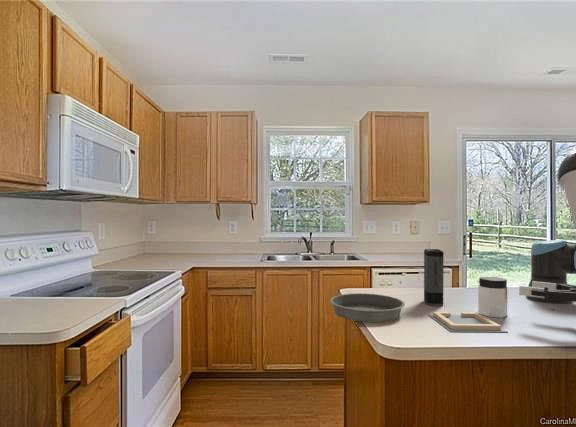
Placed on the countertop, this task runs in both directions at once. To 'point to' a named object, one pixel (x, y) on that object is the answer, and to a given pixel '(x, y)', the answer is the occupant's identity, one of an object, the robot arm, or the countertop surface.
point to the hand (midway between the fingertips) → (526, 287)
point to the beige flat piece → (467, 322)
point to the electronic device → (433, 277)
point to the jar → (492, 297)
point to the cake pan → (367, 307)
